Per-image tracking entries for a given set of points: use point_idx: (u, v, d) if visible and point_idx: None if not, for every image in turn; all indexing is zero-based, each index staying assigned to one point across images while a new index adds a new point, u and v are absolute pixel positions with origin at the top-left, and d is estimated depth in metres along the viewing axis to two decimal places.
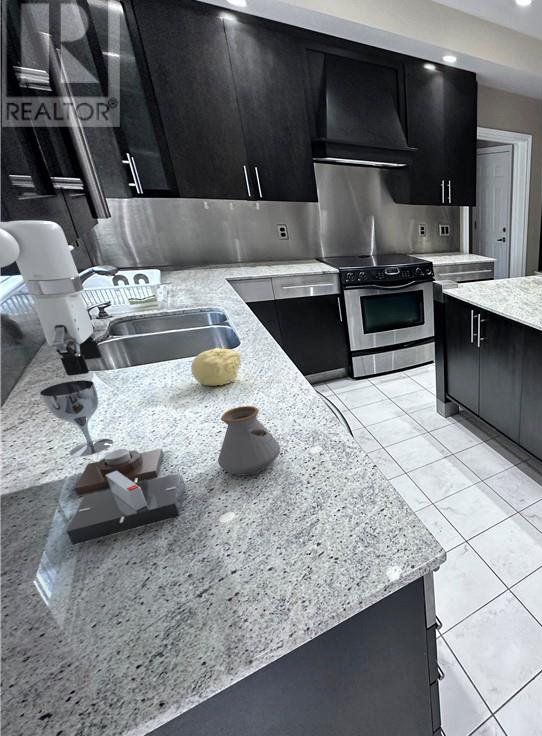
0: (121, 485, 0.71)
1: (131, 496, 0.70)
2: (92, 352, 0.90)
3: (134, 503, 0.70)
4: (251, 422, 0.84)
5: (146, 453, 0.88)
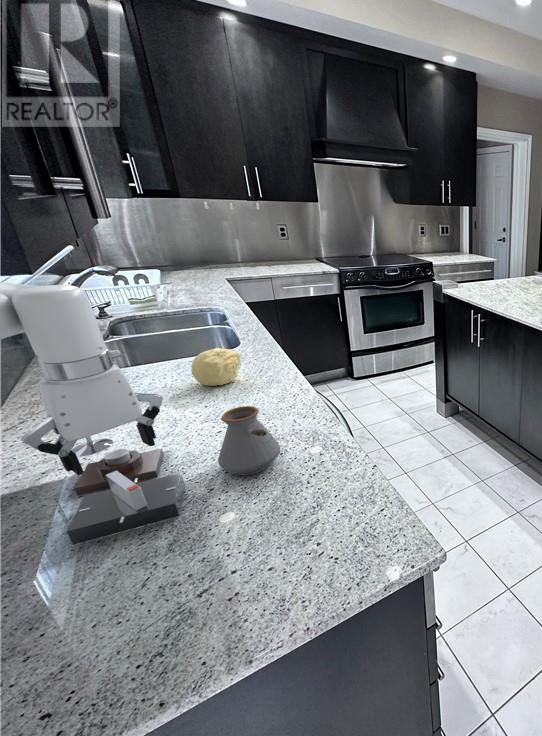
0: (121, 485, 0.71)
1: (131, 496, 0.70)
2: (145, 438, 0.73)
3: (134, 503, 0.70)
4: (251, 422, 0.84)
5: (146, 453, 0.88)
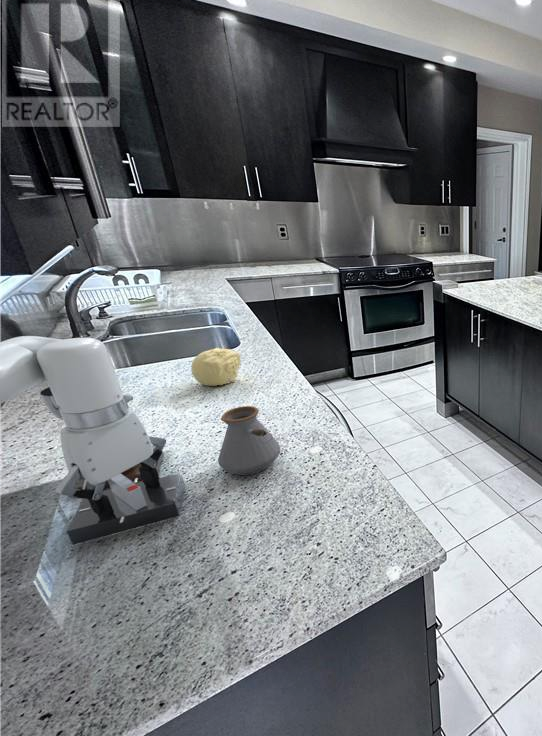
0: (121, 485, 0.71)
1: (131, 496, 0.70)
2: (150, 481, 0.76)
3: (134, 503, 0.70)
4: (251, 422, 0.84)
5: None
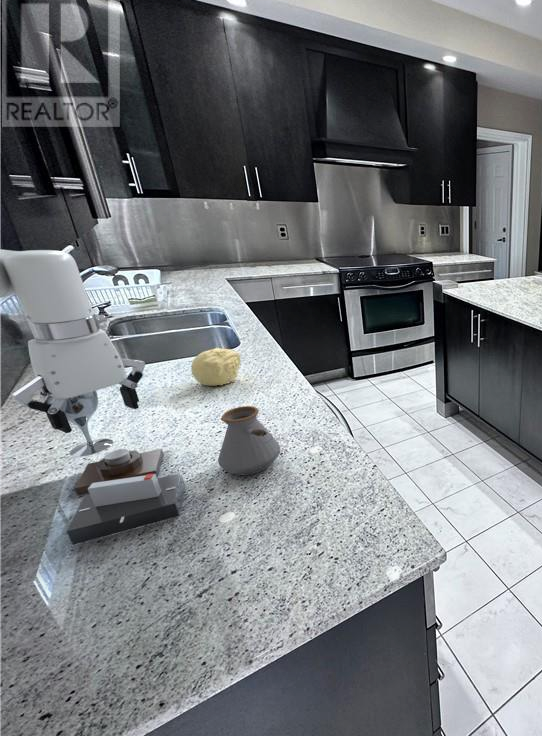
0: (129, 481, 0.72)
1: (153, 483, 0.73)
2: (129, 401, 0.76)
3: (156, 489, 0.74)
4: (251, 422, 0.84)
5: (146, 453, 0.88)
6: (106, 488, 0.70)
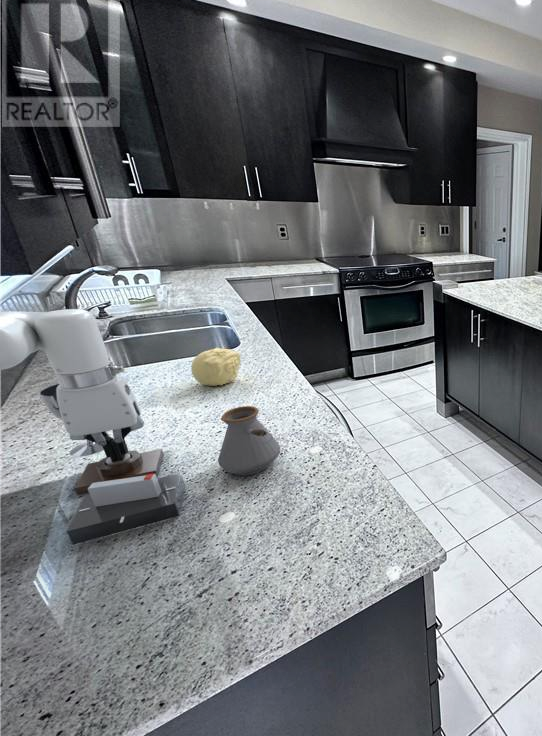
0: (129, 481, 0.72)
1: (153, 483, 0.73)
2: None
3: (156, 489, 0.74)
4: (251, 422, 0.84)
5: (146, 453, 0.88)
6: (106, 488, 0.70)
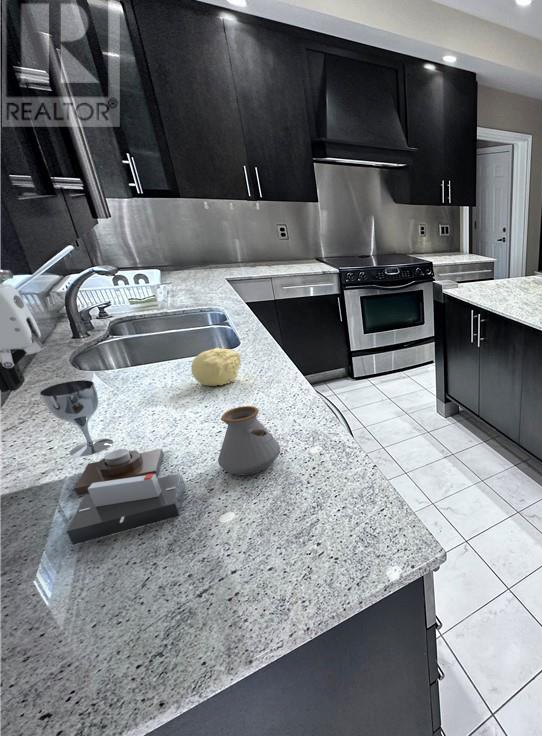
0: (129, 481, 0.72)
1: (153, 483, 0.73)
2: None
3: (156, 489, 0.74)
4: (251, 422, 0.84)
5: (146, 453, 0.88)
6: (106, 488, 0.70)
